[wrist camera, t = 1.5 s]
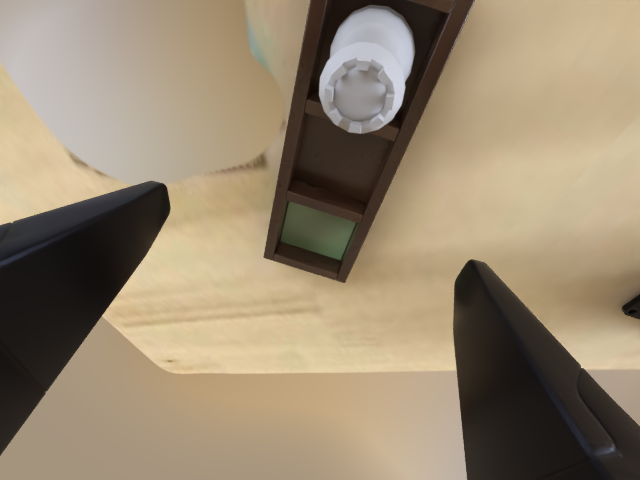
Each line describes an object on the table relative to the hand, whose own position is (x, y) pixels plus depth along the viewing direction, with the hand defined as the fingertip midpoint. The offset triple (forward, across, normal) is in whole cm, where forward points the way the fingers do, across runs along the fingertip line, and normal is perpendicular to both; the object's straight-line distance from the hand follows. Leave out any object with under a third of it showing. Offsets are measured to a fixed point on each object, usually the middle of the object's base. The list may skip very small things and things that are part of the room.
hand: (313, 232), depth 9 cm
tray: (+13, 0, +4) cm, 14 cm away
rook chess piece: (+13, 0, -2) cm, 13 cm away
